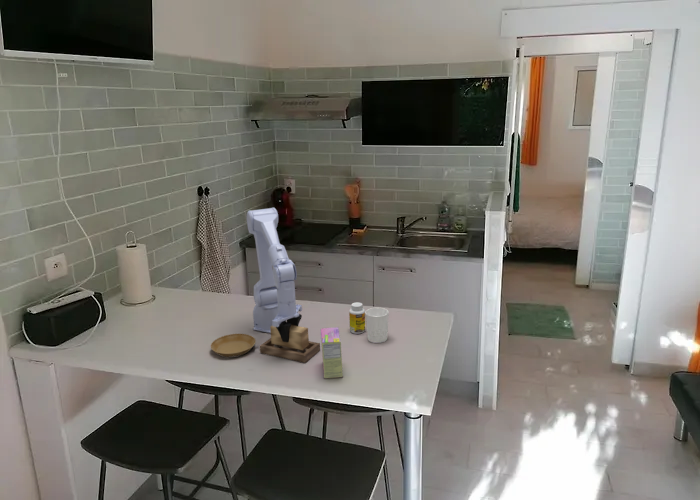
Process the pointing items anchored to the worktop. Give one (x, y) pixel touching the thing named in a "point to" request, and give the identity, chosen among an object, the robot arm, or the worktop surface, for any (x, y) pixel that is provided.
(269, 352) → the walnut peg frame
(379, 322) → the white cup
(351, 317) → the supplement bottle
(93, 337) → the worktop surface
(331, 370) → the box
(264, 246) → the robot arm
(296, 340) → the wooden block
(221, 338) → the plant saucer
